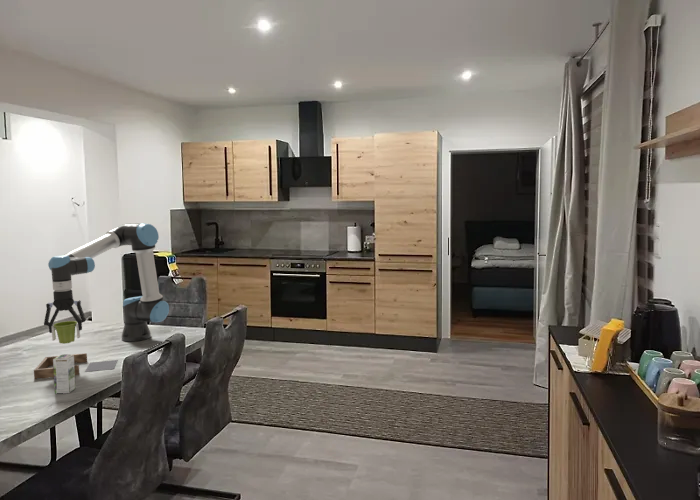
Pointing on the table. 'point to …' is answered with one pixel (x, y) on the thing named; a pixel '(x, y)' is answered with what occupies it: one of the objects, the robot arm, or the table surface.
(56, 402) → the table surface
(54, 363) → the syrup box
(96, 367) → the charcoal mat
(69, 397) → the table surface
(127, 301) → the robot arm
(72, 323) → the plant pot
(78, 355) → the walnut bay
